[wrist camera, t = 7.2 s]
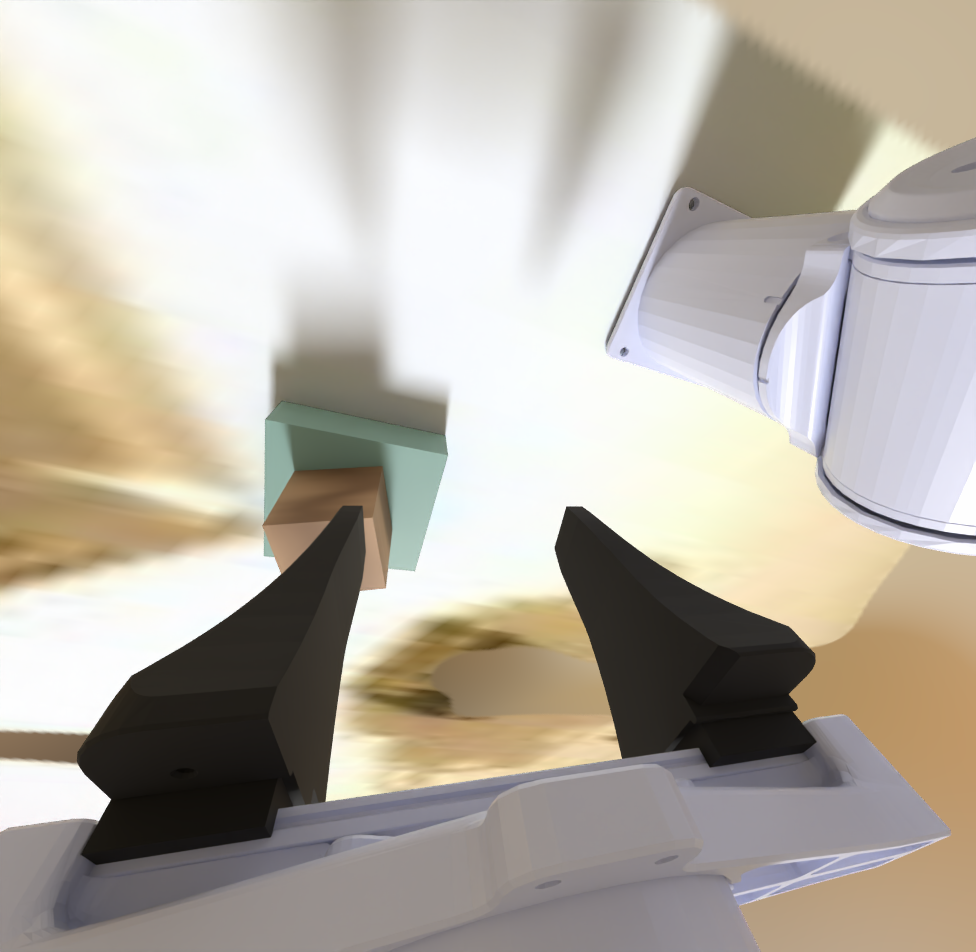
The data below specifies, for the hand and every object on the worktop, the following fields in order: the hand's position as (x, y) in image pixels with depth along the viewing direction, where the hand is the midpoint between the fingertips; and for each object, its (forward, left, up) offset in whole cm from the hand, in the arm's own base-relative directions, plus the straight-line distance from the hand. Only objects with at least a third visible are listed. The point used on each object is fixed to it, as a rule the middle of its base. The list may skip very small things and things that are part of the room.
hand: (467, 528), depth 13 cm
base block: (+4, +6, -11) cm, 13 cm away
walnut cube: (+5, +5, -8) cm, 11 cm away
